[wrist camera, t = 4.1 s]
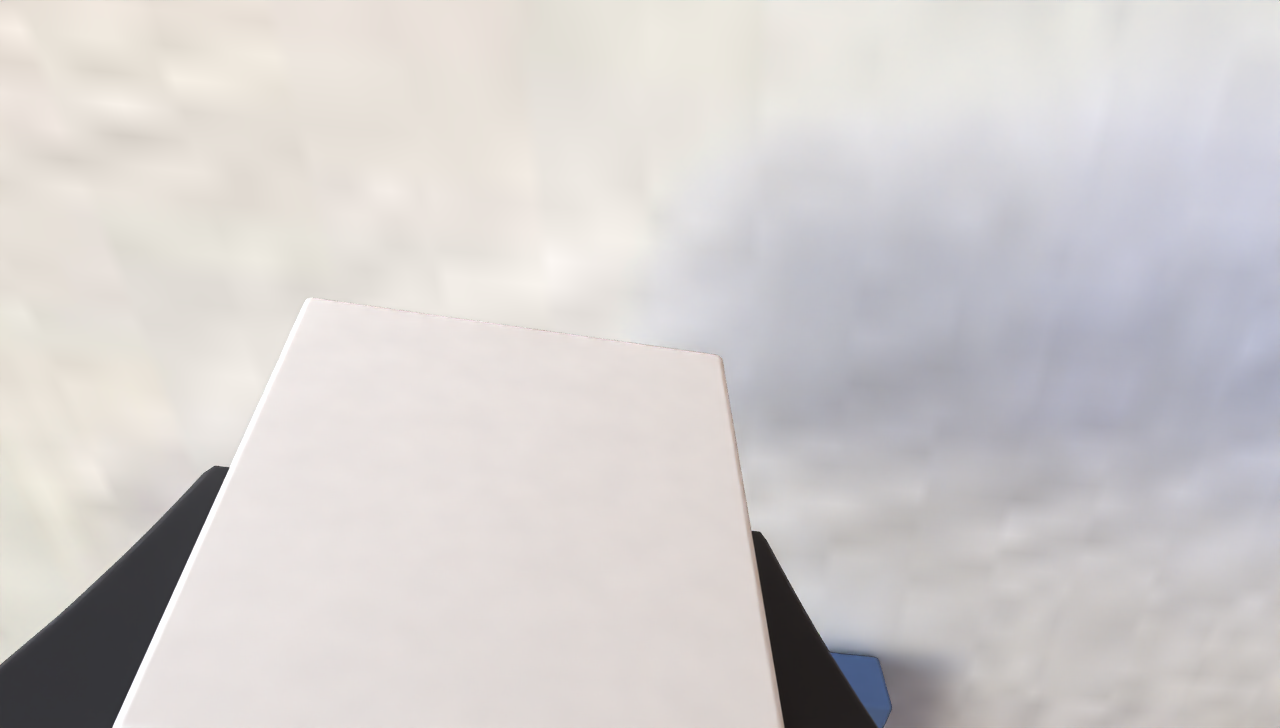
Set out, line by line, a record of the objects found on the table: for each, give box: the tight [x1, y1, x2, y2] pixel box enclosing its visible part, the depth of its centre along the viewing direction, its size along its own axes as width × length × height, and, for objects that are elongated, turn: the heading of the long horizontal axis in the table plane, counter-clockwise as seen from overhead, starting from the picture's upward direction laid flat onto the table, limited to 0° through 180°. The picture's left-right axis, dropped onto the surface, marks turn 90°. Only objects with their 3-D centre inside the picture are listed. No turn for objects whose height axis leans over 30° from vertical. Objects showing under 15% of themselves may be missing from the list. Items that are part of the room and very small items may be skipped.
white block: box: [113, 298, 784, 728], centre depth 11 cm, size 4×4×6 cm
